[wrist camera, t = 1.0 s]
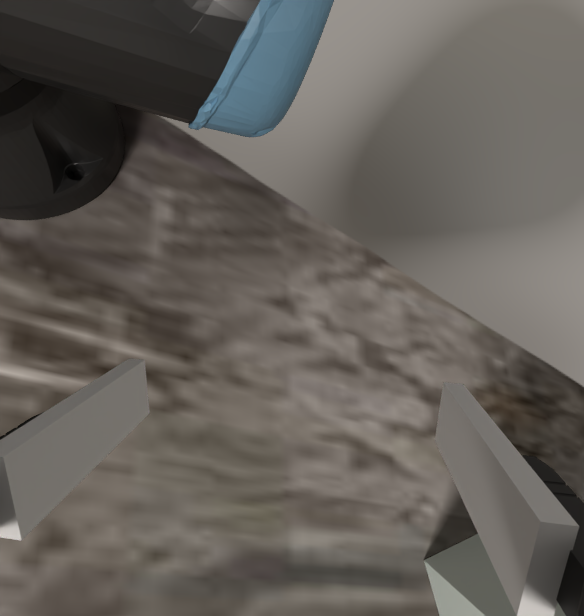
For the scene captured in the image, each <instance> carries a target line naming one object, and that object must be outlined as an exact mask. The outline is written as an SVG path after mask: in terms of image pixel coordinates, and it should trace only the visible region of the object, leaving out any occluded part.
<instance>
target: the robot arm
mask: <svg viewBox="0 0 584 616" xmlns="http://www.w3.org/2000/svg"><path fill="white" fill-rule="evenodd" d="M333 2H334V0H0V218H5V219H13V220H35V219H44V218H50V217H55V216H58V215H62V214H65V213H68V212H71V211H73V210H75V209H78V208H80V207H82V206H83V205H85V204H87V203H89V202H90V201H92V200H93V199H94V198H96V197H97V196H98V195H99V194H100V193H102V192H103V191H104V190H105V189H106V188H107V187H108V185H109V184H110V183H111V182H112V180H113V179H114V177H115V176H116V174H117V172H118V170H119V168H120V165H121V162H122V159H123V155H124V148H125V137H124V131H123V126H122V123H121V120H120V117H119V115H118V112H117V109H116V107H115V104H119V105H123V106H126V107H130V108H134V109H138V110H141V111H145V112H149V113H152V114H156V115H160V116H163V117H167V118H171V119H175V120H178V121H182V122H186V123H189V128H191V129H196V130H199V129H200V128H202V127H205V128H210V129H214V130H218V131H223V132H227V133H231V134H236V135H240V136H245V137H258V136H262V135H264V134H266V133H268V132H270V131H271V130H273V129H274V128H275V127H276V125H278V124H279V122H280V121H281V120H282V119H283V117H284V116H285V114H286V113H287V111H288V109H289V108H290V106H291V104H292V102H293V100H294V98H295V96H296V94H297V92H298V90H299V88H300V86H301V83H302V81H303V79H304V77H305V74H306V72H307V70H308V67H309V65H310V62H311V60H312V58H313V55H314V53H315V50H316V47H317V45H318V42H319V40H320V37H321V35H322V32H323V29H324V26H325V24H326V21H327V18H328V16H329V13H330V10H331V7H332V4H333ZM114 103H115V104H114ZM149 413H150V412H149V402H148V391H147V380H146V369H145V360H140V359H128V360H126V361H125V362H123V363H121V364H120V365H118V366H117V367H115V368H113V369H112V370H110V371H109V372H107V373H106V374H104V375H102V376H101V377H99V378H98V379H96V380H94V381H93V382H91V383H90V384H88V385H87V386H85V387H83V388H82V389H80V390H79V391H77V392H75V393H74V394H72V395H71V396H69V397H68V398H66V399H64V400H63V401H61V402H60V403H58V404H56V405H55V406H53V407H52V408H50V409H49V410H47V411H45V412H43V413H41V414H38V415H36V416H34V417H32V418H30V419H28V420H27V421H25V422H23V423H22V424H20V425H19V426H18V428H14V429H12V430H11V431H9V432H7V433H6V435H3V436H1V437H0V537H2V538H9V539H15V540H23V539H24V538H25V537H26V536H27V535H28V534H29V533H30V532H31V531H32V530H33V529H34V528H35V527H36V526H37V525H38V524H39V523H40V522H41V521H42V520H43V519H44V518H45V517H46V516H47V515H48V514H49V513H50V512H51V511H52V510H53V509H54V508H55V507H56V506H57V505H58V504H59V503H60V502H61V501H62V500H63V499H64V498H65V497H66V496H67V495H68V494H69V493H70V492H71V491H72V490H73V489H74V488H75V487H76V486H77V485H78V484H79V483H80V482H81V481H82V480H83V479H84V478H85V477H86V476H87V475H88V474H89V473H90V472H91V471H92V470H93V469H94V468H95V467H96V466H97V465H98V464H99V463H100V462H101V461H102V460H103V459H104V458H105V457H106V456H107V455H108V454H109V453H110V452H111V451H112V450H113V449H114V448H115V447H116V446H117V445H118V444H119V443H120V442H121V441H122V440H123V439H124V438H125V437H126V436H127V435H128V434H129V433H130V432H131V431H132V430H133V429H134V428H135V427H136V426H137V425H138V424H139V423H140V422H141V421H142V420H143V419H144V418H145V417H146V416H147V415H148V414H149ZM435 442H436V444H437V446H438V449H439V451H440V453H441V455H442V457H443V459H444V461H445V464H446V466H447V468H448V470H449V472H450V474H451V476H452V479H453V481H454V483H455V485H456V487H457V489H458V492H459V494H460V496H461V498H462V500H463V502H464V504H465V507H466V509H467V511H468V513H469V515H470V517H471V519H472V522H473V524H474V526H475V528H476V530H477V532H478V534H479V537H480V539H481V541H482V543H483V545H484V547H485V549H486V552H487V554H488V556H489V558H490V560H491V562H492V565H493V567H494V569H495V571H496V573H497V575H498V577H499V580H500V582H501V584H502V586H503V588H504V590H505V592H506V595H507V597H508V599H509V601H510V603H511V605H512V607H513V610H514V612H515V614H516V616H554V613H555V610H556V606H557V603H559V605H560V607H561V608H562V610H563V612H564V614H565V615H566V616H584V503H583V502H582V501H581V500H580V499H579V498H577V497H576V494H575V493H574V492H573V491H572V490H571V489H570V488H569V486H566V484H565V482H564V481H563V480H562V479H561V478H560V476H559V475H558V474H557V473H556V472H555V471H554V470H553V469H552V468H551V467H549V466H548V465H546V464H545V463H544V462H542V461H541V460H539V459H538V458H536V457H534V456H524V455H521V454H520V453H519V452H518V451H517V449H516V448H515V447H514V446H513V444H512V443H511V442H510V441H509V440H508V438H507V437H506V436H505V435H504V433H503V432H502V431H501V430H500V429H499V427H498V426H497V425H496V424H495V422H494V421H493V420H492V419H491V418H490V416H489V415H488V414H487V413H486V411H485V410H484V409H483V408H482V407H481V405H480V404H479V403H478V402H477V400H476V399H475V398H474V397H473V396H472V394H471V393H470V392H469V391H468V389H467V388H466V387H465V386H464V384H459V383H446V382H443V388H442V395H441V402H440V409H439V416H438V423H437V430H436V437H435Z"/></svg>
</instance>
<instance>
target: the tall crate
mask: <svg viewBox="0 0 584 616" xmlns="http://www.w3.org/2000/svg"><path fill="white" fill-rule="evenodd" d="M424 562H425V566H426V569H427V573H428V576H429V580H430V584H431V587H432V591H433V594H434V598H435V601H436V605H437V608H438V612H439V616H516V614H515V612H514V610H513V607H512V605H511V603H510V601H509V599H508V597H507V595H506V592H505V590H504V588H503V586H502V584H501V582H500V580H499V577H498V575H497V573H496V571H495V569H494V567H493V565H492V562H491V560H490V558H489V556H488V554H487V552H486V549H485V547H484V545H483V543H482V541H481V539H480V537H479V534H476V535H474V536H472V537H470V538H468V539H466V540H464V541H462V542H460V543H458V544H456V545H454V546H452V547H450V548H448V549H446V550H444V551H442V552H440V553H437V554H435V555H433V556H431V557H429V558H427V559H425V560H424ZM554 616H566V615H565V614H564V612H563V610H562V608H561V607H560V605H559V603H557V606H556V610H555V613H554Z"/></svg>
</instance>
